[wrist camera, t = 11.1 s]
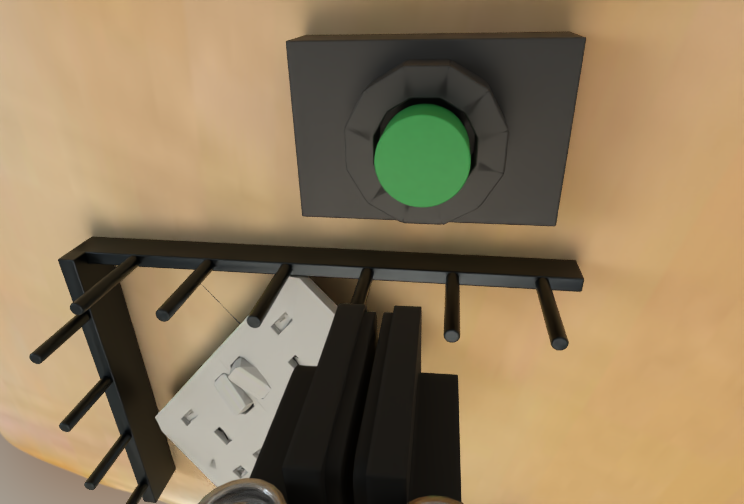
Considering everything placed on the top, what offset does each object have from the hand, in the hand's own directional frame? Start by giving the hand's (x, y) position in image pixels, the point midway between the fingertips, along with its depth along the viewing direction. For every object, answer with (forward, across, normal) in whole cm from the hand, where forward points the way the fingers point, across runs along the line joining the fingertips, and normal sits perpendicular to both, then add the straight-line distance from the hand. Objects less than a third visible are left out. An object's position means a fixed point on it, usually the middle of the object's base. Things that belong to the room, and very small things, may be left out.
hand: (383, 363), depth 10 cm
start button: (+12, 0, -1) cm, 12 cm away
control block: (+17, 0, -1) cm, 17 cm away
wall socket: (+17, +10, +16) cm, 25 cm away
